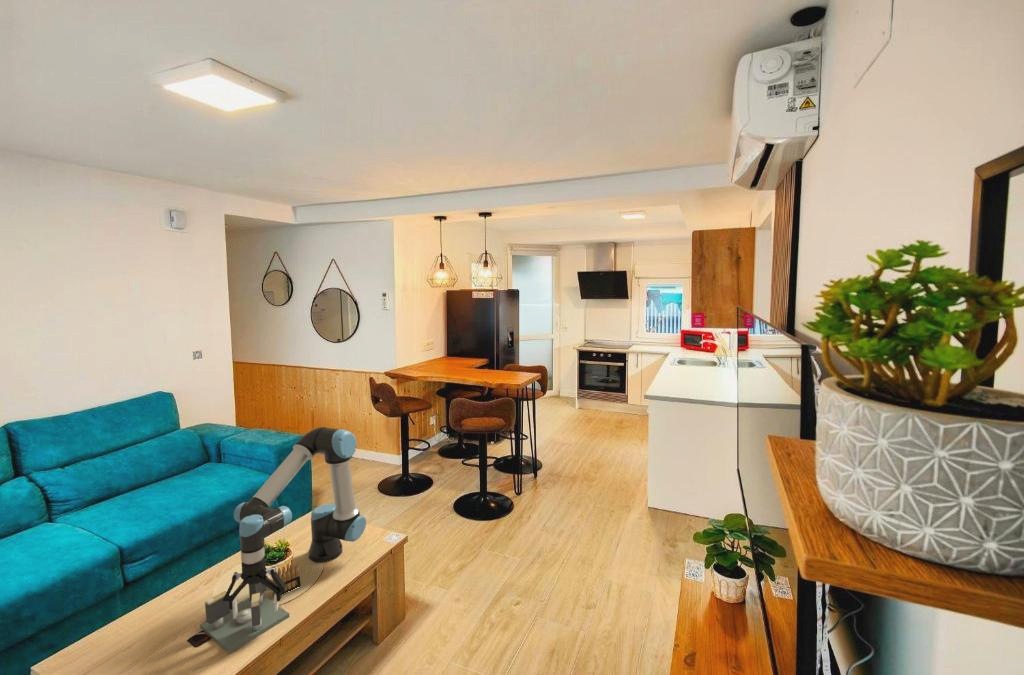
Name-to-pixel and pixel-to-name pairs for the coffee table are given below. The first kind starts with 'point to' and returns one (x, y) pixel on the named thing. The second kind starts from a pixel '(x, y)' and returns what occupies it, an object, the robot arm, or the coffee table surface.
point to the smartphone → (199, 639)
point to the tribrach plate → (244, 625)
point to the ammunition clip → (290, 577)
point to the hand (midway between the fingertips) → (256, 612)
